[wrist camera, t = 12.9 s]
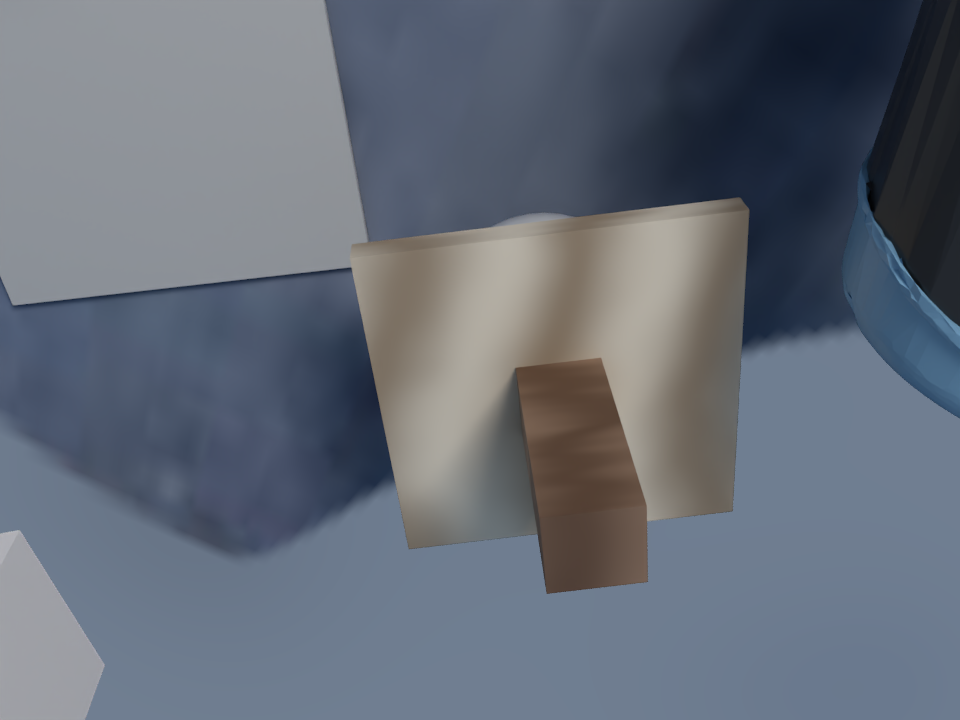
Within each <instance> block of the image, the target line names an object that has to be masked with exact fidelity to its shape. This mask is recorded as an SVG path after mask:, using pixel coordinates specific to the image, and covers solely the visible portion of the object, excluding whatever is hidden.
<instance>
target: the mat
mask: <svg viewBox="0 0 960 720" xmlns="http://www.w3.org/2000/svg"><path fill="white" fill-rule="evenodd" d="M366 242H369V239H368V234H367V228H366V223H365V217H364V212H363V206H362V201H361V195H360V190H359V184H358V179H357V173H356V168H355V162H354V156H353V151H352V145H351V140H350V134H349V129H348V123H347V118H346V112H345V107H344V101H343V96H342V90H341V85H340V79H339V74H338V68H337V63H336V57H335V52H334V46H333V41H332V35H331V30H330V24H329V19H328V13H327V8H326V2H325V0H0V277H1V279H2V281H3V284H4V286H5V288H6V291H7V293H8V295H9V297H10V300H11V302H12V304H13V305H22V304H31V303H39V302H48V301H57V300H66V299H75V298H84V297H93V296H101V295H110V294H119V293H128V292H137V291H146V290H154V289H163V288H172V287H181V286H190V285H199V284H208V283H216V282H225V281H234V280H243V279H252V278H261V277H269V276H278V275H287V274H296V273H305V272H314V271H323V270H331V269H340V268H349V267H351V262H350V253H351V246H352V244H358V243H366Z"/></svg>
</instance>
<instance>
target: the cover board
mask: <svg viewBox="0 0 960 720" xmlns="http://www.w3.org/2000/svg"><path fill="white" fill-rule="evenodd" d="M748 226H749V209H748V207H747V206H746V205H745V203H744V202H743V201H742V199H741V198H740V197H739V198H731V199H723V200H714V201H706V202H698V203H689V204H681V205H673V206H665V207H656V208H648V209H640V210H631V211H623V212H615V213H607V214H598V215H590V216H582V217H573V218H565V219H557V220H549V221H540V222H532V223H524V224H515V225H507V226H499V227H491V228H482V229H474V230H466V231H457V232H449V233H441V234H433V235H424V236H416V237H408V238H400V239H391V240H383V241H375V242H366V243H358V244H352V246H351V253H350V262H351V267H352V272H353V277H354V282H355V286H356V291H357V296H358V301H359V306H360V311H361V316H362V321H363V326H364V331H365V336H366V341H367V346H368V350H369V355H370V360H371V365H372V370H373V375H374V380H375V385H376V390H377V395H378V400H379V405H380V410H381V414H382V419H383V424H384V429H385V434H386V439H387V444H388V449H389V454H390V459H391V464H392V469H393V474H394V479H395V483H396V488H397V493H398V498H399V502H400V508H401V513H402V518H403V523H404V528H405V532H406V538H407V542H408V547H409V549H415V548H423V547H432V546H441V545H448V544H458V543H466V542H475V541H483V540H492V539H500V538H509V537H517V536H526V535H535V534H538V540H539V546H540V553H541V559H542V566H543V573H544V579H545V586H546V592H547V594H549V593H557V592H566V591H575V590H582V589H592V588H600V587H608V586H617V585H626V584H635V583H644V582H648V565H647V521H654V520H663V519H672V518H680V517H689V516H697V515H705V514H715V513H723V512H731V511H733V496H734V478H735V477H734V476H735V459H736V442H737V441H736V440H737V423H738V406H739V388H740V387H739V386H740V370H741V352H742V334H743V316H744V298H745V280H746V262H747V244H748Z"/></svg>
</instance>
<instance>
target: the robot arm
mask: <svg viewBox="0 0 960 720" xmlns="http://www.w3.org/2000/svg"><path fill="white" fill-rule="evenodd" d="M842 282H843V289H844V294H845V296H846V298H847V301H848V303H849V305H850V306H851V308H852V310H853V311H854V315H855V316H856V321H857V325H858V327H859V328H860V330H861V332H862V333H863V335H864V336H865V338H866V339H867V340H868V342H869V343H870V344H871V345H872V347H873V348H874V349H875V350H876V352H877V353H878V354H879V355H880V356H881V357H882V358H883V360H885V362H886V363H887V364H888V365H889V366H890V367H891V368H892V369H893V370H894V371H895V372H897V373H898V374H899V375H900V376H901V377H902V378H903V379H904V380H906V381H907V382H908V383H909V384H910V385H912V386H913V387H914V388H915V389H917V390H918V391H920V392H921V393H922V394H923V395H925V396H926V397H928V398H929V399H930V400H932V401H933V402H935V403H936V404H938V405H939V406H941V407H942V408H944V409H945V410H947V411H948V412H950V413H952V414H953V415H955V416H957V417H958V418H960V0H923V2H922V5H921V8H920V11H919V14H918V17H917V20H916V23H915V26H914V29H913V33H912V36H911V39H910V42H909V45H908V48H907V51H906V54H905V57H904V60H903V62H902V65H901V68H900V71H899V74H898V77H897V80H896V83H895V86H894V89H893V91H892V94H891V97H890V100H889V103H888V106H887V109H886V112H885V115H884V118H883V121H882V123H881V126H880V129H879V132H878V135H877V138H876V141H875V144H874V147H872V148H871V150H870V152H869V153H868V155H867V157H866V159H865V161H864V163H863V164H862V168H861V170H860V172H859V178H858V204H857V208H856V212H855V215H854V219H853V222H852V226H851V230H850V233H849V237H848V240H847V244H846V247H845V252H844V256H843V263H842ZM104 666H105V665H104V663H103V662H102V660H101V658H100V657H99V655H98V654H97V652H96V651H95V649H94V647H93V646H92V644H91V643H90V641H89V639H88V638H87V636H86V635H85V633H84V631H83V630H82V628H81V627H80V625H79V623H78V622H77V620H76V619H75V617H74V616H73V614H72V612H71V611H70V609H69V608H68V606H67V605H66V603H65V601H64V600H63V598H62V597H61V595H60V594H59V592H58V590H57V589H56V587H55V585H54V584H53V582H52V581H51V579H50V578H49V576H48V574H47V573H46V571H45V570H44V568H43V566H42V565H41V563H40V562H39V560H38V558H37V557H36V555H35V554H34V552H33V551H32V549H31V547H30V546H29V544H28V543H27V541H26V540H25V538H24V536H23V535H22V533H21V532H20V530H18V531H12V532H6V533H0V720H85V718H86V716H87V713H88V710H89V707H90V705H91V702H92V699H93V696H94V694H95V691H96V688H97V685H98V682H99V680H100V677H101V674H102V671H103V669H104Z"/></svg>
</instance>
